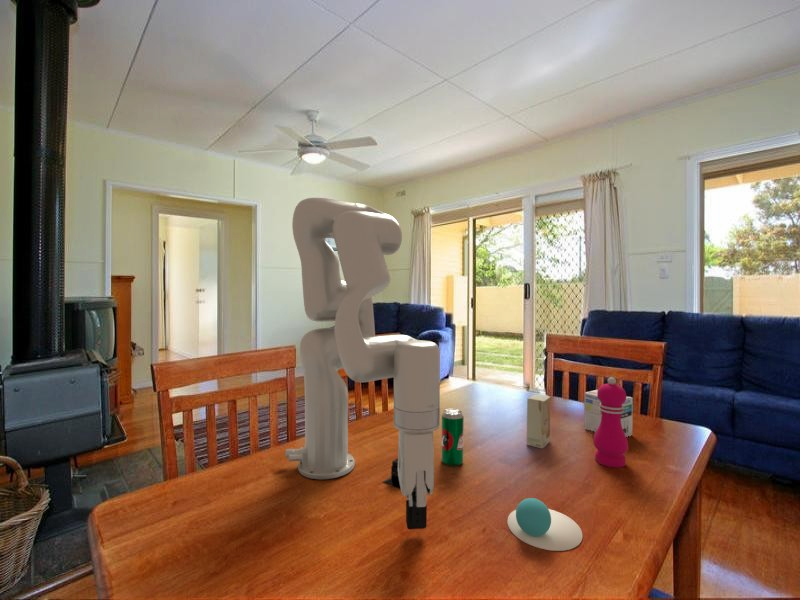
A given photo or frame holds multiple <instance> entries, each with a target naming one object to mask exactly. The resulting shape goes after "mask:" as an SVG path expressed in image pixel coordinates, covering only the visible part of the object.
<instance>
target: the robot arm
mask: <svg viewBox="0 0 800 600" xmlns="http://www.w3.org/2000/svg"><path fill="white" fill-rule="evenodd" d="M291 223H292V224H291V225H292V235H293V239H294V244H295V246H296V249H297V252H298V255H299V259H300V265H301V279H302V280H301V281H302V293H303V294H302V295H303V298H302V299H303V306H304V312H305V314H306V317H307V318H308V319H309V320H310V321H312V322H321V323H322V322H323V323H324V322H326V323H329V322H334V326H332V327H331V326H330V327H320V328H316V329H312V330H309V331H308V332H307V333H305V334H304V335H303V336H302V338H301V339H300V344H299V352H300V353H299V354H300V359H301V365H302V371H303V372H302V373H303V379H304V380H303V381H304V382H303V383H304V445H303V446H301V447H299V448H286V449H285V453H284V454H285V459H288V461H289V462H298V465H297V470H298V472H299V473H300V475H302V476H303V477H304V478H305V477H306V478H307V479H312V480H313V479H314V480H331V479H336V478H341V477H343V476H345V475H347V474H349V473H350V472H351V471H352V470H354V468H355V464H356V462H355V458H354V456H353V455H352V454H350V453H349V446H348V445H349V444H348V443H349V442H348V441H349V439H348V438H349V431H348V429H349V428H348V427H349V426H348V425H349V422H348V421H349V419H348V418H349V415H348V414H349V413H348V412H349V411H348V410H349V407H348V406H349V405H348V403H349V401H348V400H349V396H348V394H349V392H348V387H347V384H346V381H344V379H343V378H342V376H341V375H340V374H339V372H338V371H339V370H344V372H345V374H346V375H347V377H348V378H349V379H350V380H352V381H354V382H356V383H368V382H373V381H379V380H384V379H392V378H393V427H394V429H396V430H397V431H398V447H397V448H398V449H397V450H398V451H397V458H398V477H399V483H400V488H401V489H400V491H401V494H402V496H404V497H405V498H406V500H405V521H406V522H405V524H406V528H407V529H408V530H416V529H417V530H420V529H422V530H423V529H426V528H427V527H428V525H427V514H428V512H427V510H428V509H427V507H428V506H427V495H428V496H431V495H432V494H433V493H434V484H435V483H434V480H435V477H434V476H435V473H434V472H435V470H434V469H435V466H434V465H435V461H434V460H435V458H434V457H435V455H434V453H435V451H434V450H435V449H434V446H435V444H434V432H435V431H437V430H438V429H440V425H441V424H440V423H441V422H440V421H441V419H440V416H441V415H440V414H441V413H440V412H441V411H440V410H441V408H440V405H441V403H440V402H441V401H440V400H441V397H440V396H441V395H440V394H441V393H440V392H441V351H440V348H439V345H438V344H437V343H436V342H433V341H431V340H424V339H423V340H420V339H416V338H413V337H412V336H410V335H406V334H391V335H389V334H388V335H376V330H375V329H376V328H375V317H374V314H375V313H374V304H373V297H375V296H377V295H378V294H381V292H383V291H384V290H385V289H387V287H388V286H389V285H390V283H391V276H390V275H391V274H390V272H389V269H388V266H387V262H386V259H385V256H391V255H393V254H396V253H397V252H398V250H399V249H400V247H401V245H402V241H403V235H402V234H403V233H402V229H401V226H400V224H399V222H398V221H397V219H396V218H395V217H393V216H392V215H390V214H388V213H385V212H383V211H382V210H379V209H377V208H374V207H372V206H370V205H366V204H364V203H357V202H352V201H345V200H339V199H333V198H327V197H326V198H325V197H308V198H305V199H302V200H300V201H299V202H298V203H297V205H296V206H295V207H294V211H293V215H292V222H291ZM326 239H333V240H334V244H335V247H336V252H337V254H336V252H335V251H334V249H333V248H332V246H331V245H330V244H329V243H328V242H327V241H326ZM337 255H338V256H337ZM340 267H341V271H342V274H343V275H342V276H343V279H344V280H342V278H341V273H340Z"/></svg>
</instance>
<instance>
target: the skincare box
mask: <svg viewBox="0 0 800 600" xmlns="http://www.w3.org/2000/svg"><path fill="white" fill-rule="evenodd" d="M551 398H552V397H551V396H549V395H542V394H537V393H534V394H533V395H531V396H529V397H528V398H527V400H526V401H527V405H526V406H527V407H526V413H527V414H526V445H528V446H531V447H534V448H539V449H544V448H545V447H546V446H547V445H548V444H549V443H550V440H551V438H550V436H551Z"/></svg>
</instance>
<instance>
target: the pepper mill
mask: <svg viewBox="0 0 800 600" xmlns="http://www.w3.org/2000/svg"><path fill="white" fill-rule="evenodd" d="M616 383H617V380H616V378H615V377H611V376H610V377H609V378H607V383H603V384H601V385H600V386H599V387H598V389H597V390H598V391H597V396H598V399H599V400H600V401H601V403H600V404H599V405H600V407H599V409H600V410H601V415H602V416H601V423H600V425H599V427H598V429H597V431H596V432H594V435H593V441H592V443H593V446H594V447H595V448H596V449H597V450H595V452H594V454H595V461H596V462H597V463H598V464H600V465H603V466H605V467H608V468H615V469H617V468H623V467H625V465H626V456H625V453H627V451H628V450H629V443H628V437H627V438H626V436H625V433H624V431H623V428H622V425H621V413H623V412H624V411H623V408H624V407H623V406H622V404H623V403H624V402H625V401H626V396H627V393H626V391H625V388H623V387H622V386H620V385H619V384H616Z"/></svg>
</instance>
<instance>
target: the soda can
mask: <svg viewBox="0 0 800 600" xmlns="http://www.w3.org/2000/svg"><path fill="white" fill-rule="evenodd" d="M464 419H465V418H464V415H463V411H462V410H460V409H458V408H446V409H444V410H443V411H442V414H441V462H442V463H443V464H444V465H446V466H449V467H457V466H460V465H462V463H463V462H464V425H465V423H464V421H465V420H464Z"/></svg>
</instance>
